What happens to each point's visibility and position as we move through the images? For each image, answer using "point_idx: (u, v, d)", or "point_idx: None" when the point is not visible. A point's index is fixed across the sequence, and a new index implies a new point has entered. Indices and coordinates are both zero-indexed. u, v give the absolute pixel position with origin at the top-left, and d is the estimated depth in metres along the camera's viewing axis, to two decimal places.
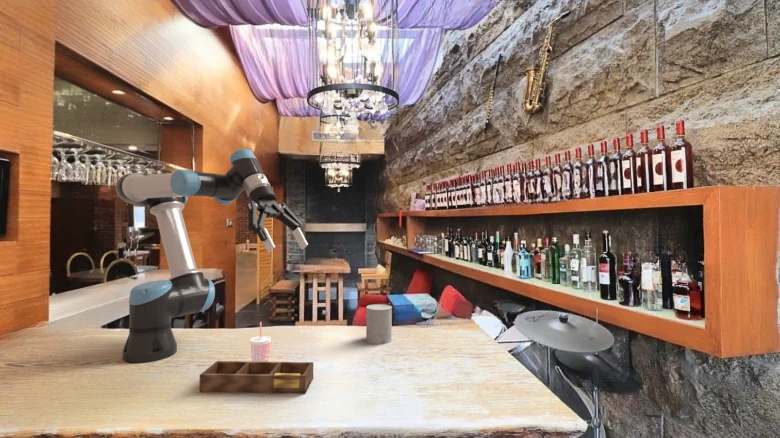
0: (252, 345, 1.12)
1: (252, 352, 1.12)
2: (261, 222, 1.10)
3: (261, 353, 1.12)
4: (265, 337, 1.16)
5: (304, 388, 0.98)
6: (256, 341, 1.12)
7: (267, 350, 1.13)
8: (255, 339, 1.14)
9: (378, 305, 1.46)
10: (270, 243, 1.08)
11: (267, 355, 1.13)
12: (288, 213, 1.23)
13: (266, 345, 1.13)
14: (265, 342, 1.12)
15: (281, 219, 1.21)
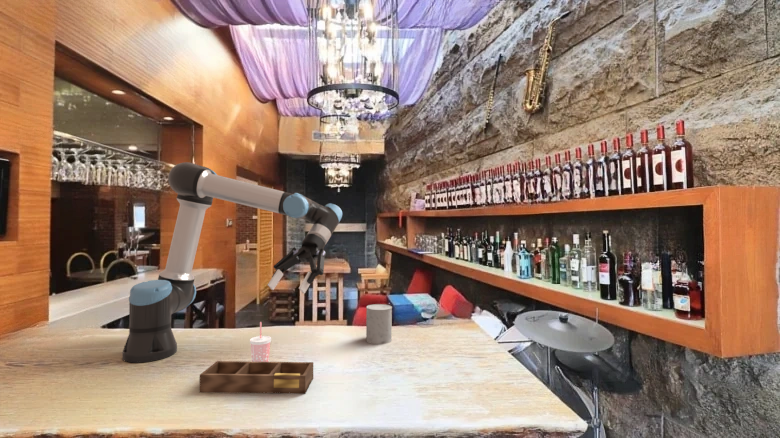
0: (252, 345, 1.12)
1: (252, 352, 1.12)
2: None
3: (261, 353, 1.12)
4: (265, 337, 1.16)
5: (304, 388, 0.98)
6: (256, 341, 1.12)
7: (267, 350, 1.13)
8: (255, 339, 1.14)
9: (378, 305, 1.46)
10: (306, 289, 1.21)
11: (267, 355, 1.13)
12: None
13: (266, 345, 1.13)
14: (265, 342, 1.12)
15: (293, 260, 1.31)
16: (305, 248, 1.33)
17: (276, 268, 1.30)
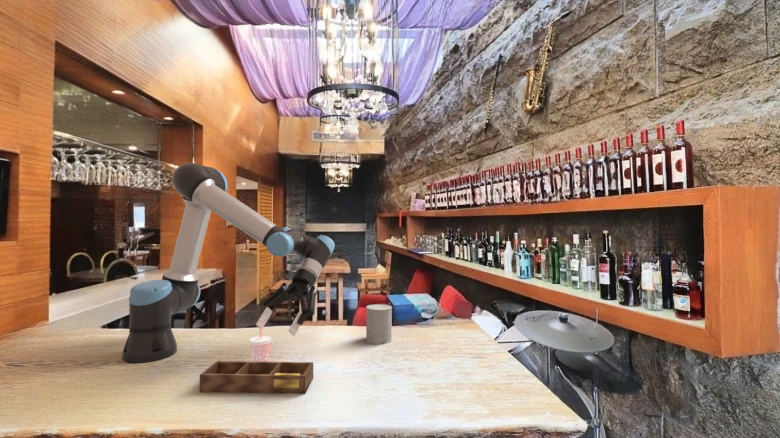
0: (252, 345, 1.12)
1: (252, 352, 1.12)
2: None
3: (261, 353, 1.12)
4: (265, 337, 1.16)
5: (304, 388, 0.98)
6: (256, 341, 1.12)
7: (267, 350, 1.13)
8: (255, 339, 1.14)
9: (378, 305, 1.46)
10: (296, 330, 1.16)
11: (267, 355, 1.13)
12: None
13: (266, 345, 1.13)
14: (265, 342, 1.12)
15: (282, 297, 1.26)
16: (295, 284, 1.27)
17: (265, 305, 1.25)
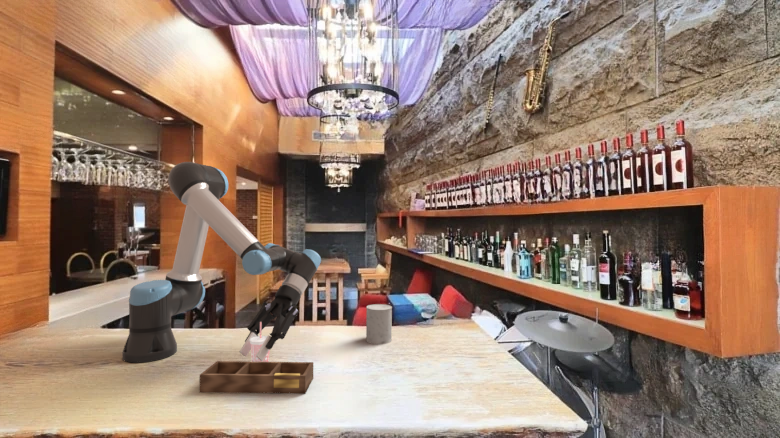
0: (252, 345, 1.12)
1: (252, 352, 1.12)
2: None
3: None
4: (265, 337, 1.16)
5: (304, 388, 0.98)
6: (256, 341, 1.12)
7: None
8: (255, 339, 1.14)
9: (378, 305, 1.46)
10: (265, 355, 1.11)
11: (267, 355, 1.13)
12: (264, 316, 1.22)
13: None
14: None
15: (267, 317, 1.19)
16: (278, 299, 1.23)
17: (250, 331, 1.17)
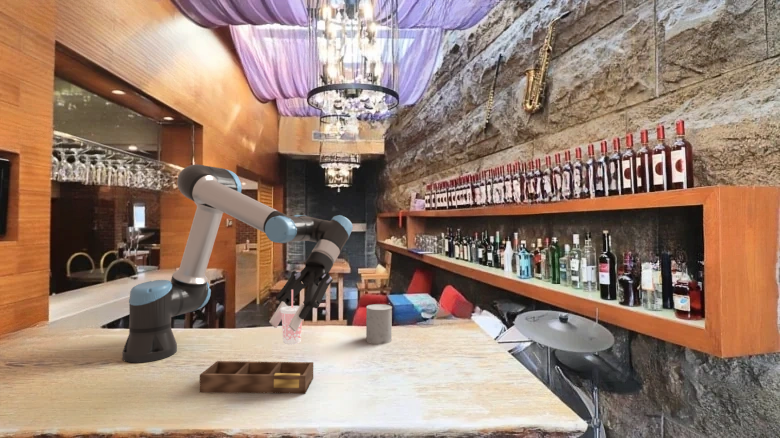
0: (283, 314, 1.01)
1: (283, 322, 1.01)
2: None
3: None
4: (297, 307, 1.05)
5: (304, 388, 0.98)
6: (288, 310, 1.01)
7: None
8: (286, 308, 1.03)
9: (378, 305, 1.46)
10: (298, 326, 1.00)
11: (300, 326, 1.02)
12: None
13: None
14: None
15: (298, 286, 1.08)
16: (309, 267, 1.12)
17: (280, 300, 1.06)
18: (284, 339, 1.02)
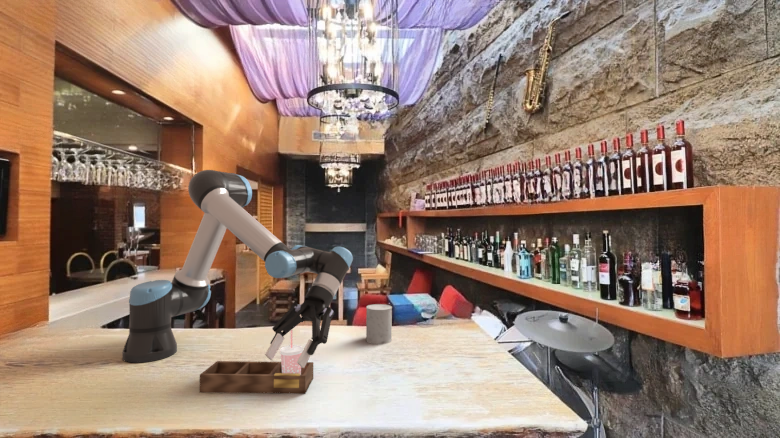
0: (283, 356, 1.01)
1: (283, 364, 1.01)
2: None
3: (293, 364, 1.01)
4: (296, 347, 1.05)
5: (304, 388, 0.98)
6: (287, 351, 1.01)
7: None
8: (285, 349, 1.03)
9: (378, 305, 1.46)
10: (306, 362, 0.99)
11: (299, 367, 1.02)
12: (292, 317, 1.12)
13: (298, 356, 1.02)
14: (297, 352, 1.01)
15: (295, 320, 1.09)
16: (309, 302, 1.11)
17: (276, 331, 1.07)
18: None
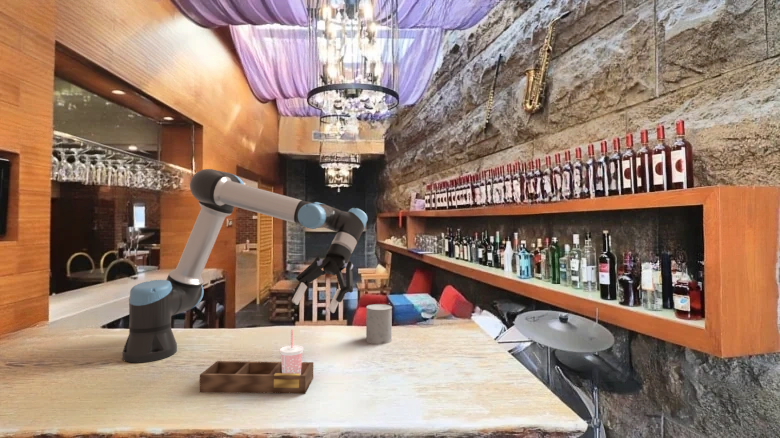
0: (283, 356, 1.01)
1: (283, 364, 1.01)
2: None
3: (293, 364, 1.01)
4: (296, 347, 1.05)
5: (304, 388, 0.98)
6: (287, 351, 1.01)
7: (299, 361, 1.02)
8: (286, 349, 1.03)
9: (378, 305, 1.46)
10: (335, 308, 1.13)
11: (299, 367, 1.02)
12: (314, 270, 1.25)
13: (298, 356, 1.02)
14: (297, 352, 1.01)
15: (317, 273, 1.22)
16: (330, 259, 1.23)
17: (299, 281, 1.21)
18: None
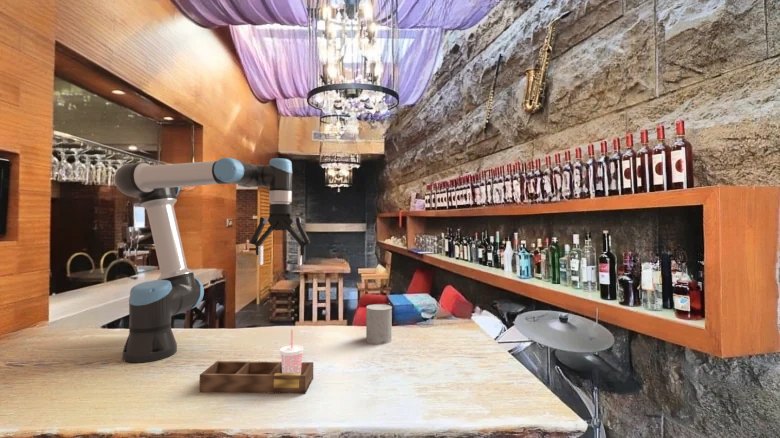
0: (283, 356, 1.01)
1: (283, 364, 1.01)
2: None
3: (293, 364, 1.01)
4: (296, 347, 1.05)
5: (304, 388, 0.98)
6: (287, 351, 1.01)
7: (299, 361, 1.02)
8: (286, 349, 1.03)
9: (378, 305, 1.46)
10: (301, 260, 1.34)
11: (299, 367, 1.02)
12: (262, 228, 1.34)
13: (298, 356, 1.02)
14: (297, 352, 1.01)
15: (269, 233, 1.33)
16: (276, 218, 1.32)
17: (255, 245, 1.32)
18: None
